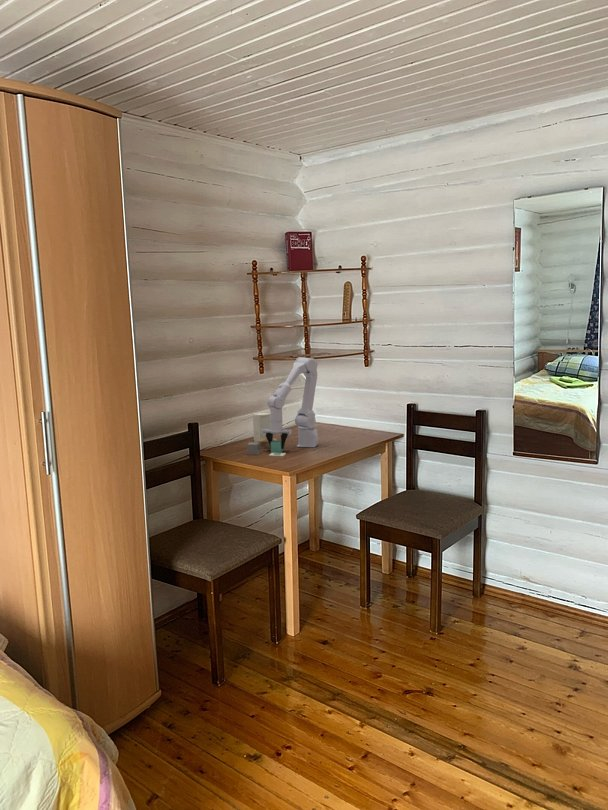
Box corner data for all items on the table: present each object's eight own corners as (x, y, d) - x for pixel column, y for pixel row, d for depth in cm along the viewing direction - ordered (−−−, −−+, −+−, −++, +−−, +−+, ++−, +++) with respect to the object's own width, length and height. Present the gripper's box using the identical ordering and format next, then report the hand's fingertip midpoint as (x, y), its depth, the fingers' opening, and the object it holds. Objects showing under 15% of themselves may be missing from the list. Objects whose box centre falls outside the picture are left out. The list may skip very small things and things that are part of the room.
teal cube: (283, 450, 320) (283, 440, 320) (280, 452, 316) (280, 442, 315) (273, 449, 322) (273, 439, 321) (270, 452, 317) (270, 442, 316)
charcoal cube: (260, 452, 317) (260, 442, 316) (257, 455, 312) (256, 444, 311) (250, 452, 318) (250, 442, 317) (247, 454, 313) (246, 444, 312)
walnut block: (278, 446, 330) (278, 438, 330) (272, 449, 323) (272, 442, 322) (263, 445, 333) (263, 437, 332) (257, 449, 325) (257, 441, 325)
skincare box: (260, 443, 336) (259, 415, 333) (253, 442, 340) (252, 413, 338) (273, 441, 341) (272, 413, 339) (265, 439, 346) (264, 411, 343)
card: (285, 453, 313) (285, 452, 313) (283, 456, 308) (283, 455, 308) (271, 453, 315) (271, 452, 315) (268, 455, 310) (268, 454, 310)
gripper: (259, 421, 314) (260, 449, 316) (288, 422, 311) (289, 450, 313) (263, 419, 321) (264, 446, 323) (292, 419, 318) (293, 447, 320)
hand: (277, 448), depth 318 cm, fingers closed on teal cube, 5 cm apart
